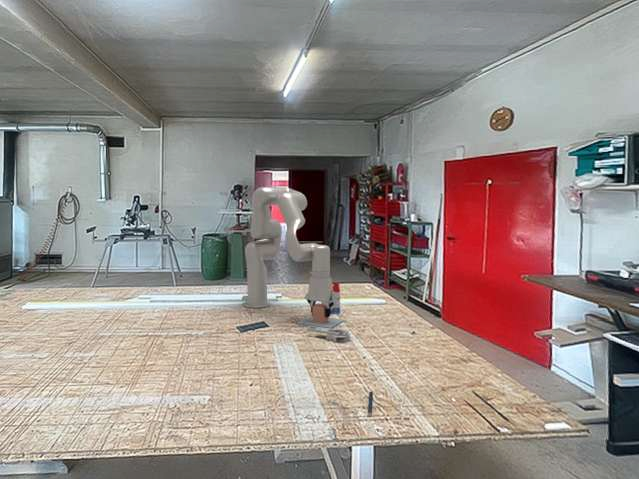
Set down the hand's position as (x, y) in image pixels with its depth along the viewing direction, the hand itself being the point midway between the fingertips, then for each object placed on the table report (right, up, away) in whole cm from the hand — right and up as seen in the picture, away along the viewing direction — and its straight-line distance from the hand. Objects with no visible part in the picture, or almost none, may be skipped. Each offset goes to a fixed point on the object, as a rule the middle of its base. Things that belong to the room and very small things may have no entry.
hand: (320, 315), depth 210 cm
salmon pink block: (0, -2, 0) cm, 2 cm away
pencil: (+13, -11, -81) cm, 83 cm away
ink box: (+5, -2, +18) cm, 19 cm away
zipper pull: (+3, -5, -21) cm, 22 cm away
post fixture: (0, -3, 0) cm, 3 cm away
